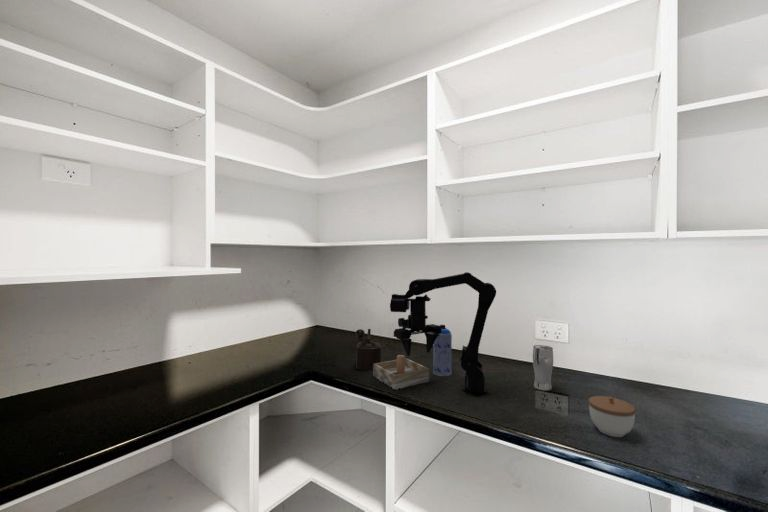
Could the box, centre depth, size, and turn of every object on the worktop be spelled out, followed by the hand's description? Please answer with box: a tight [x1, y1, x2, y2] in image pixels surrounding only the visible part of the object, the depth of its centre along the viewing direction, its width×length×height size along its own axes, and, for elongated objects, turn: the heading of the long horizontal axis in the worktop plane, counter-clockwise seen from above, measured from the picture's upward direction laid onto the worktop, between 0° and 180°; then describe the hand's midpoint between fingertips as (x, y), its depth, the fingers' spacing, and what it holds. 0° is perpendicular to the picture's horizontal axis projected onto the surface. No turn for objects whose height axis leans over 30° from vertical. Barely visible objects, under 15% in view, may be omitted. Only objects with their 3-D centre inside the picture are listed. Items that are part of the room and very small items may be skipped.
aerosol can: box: [432, 324, 453, 377], centre depth 139 cm, size 8×8×20 cm
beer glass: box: [532, 344, 554, 392], centre depth 124 cm, size 7×7×15 cm
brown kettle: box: [354, 328, 382, 371], centre depth 145 cm, size 16×11×18 cm
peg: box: [396, 354, 406, 374], centre depth 132 cm, size 3×3×9 cm
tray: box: [372, 357, 430, 390], centre depth 132 cm, size 16×16×5 cm
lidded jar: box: [588, 395, 636, 438], centre depth 93 cm, size 11×11×9 cm
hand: (418, 354), depth 125 cm, fingers open, 9 cm apart
